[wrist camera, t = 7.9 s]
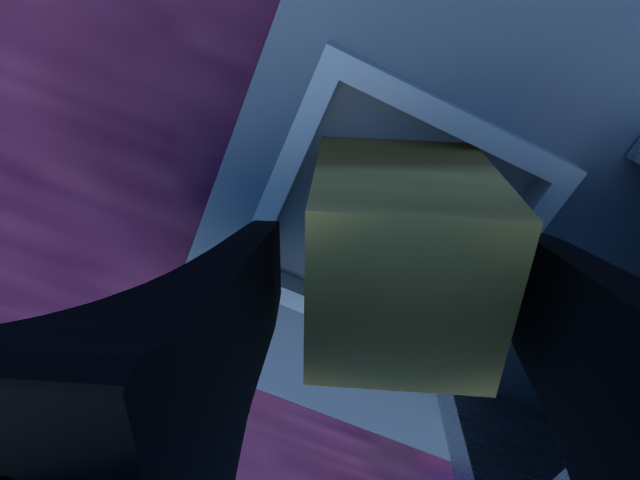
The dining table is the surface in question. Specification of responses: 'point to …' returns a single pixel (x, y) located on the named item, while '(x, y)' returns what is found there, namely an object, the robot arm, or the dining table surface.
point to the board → (436, 125)
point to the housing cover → (502, 433)
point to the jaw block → (412, 267)
